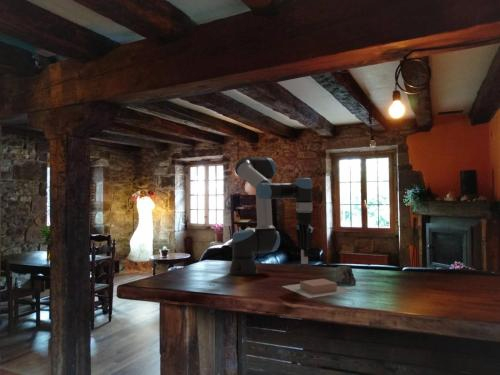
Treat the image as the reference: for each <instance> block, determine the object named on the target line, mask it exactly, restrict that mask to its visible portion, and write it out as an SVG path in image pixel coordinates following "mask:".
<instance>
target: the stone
mask: <svg viewBox="0 0 500 375" xmlns="http://www.w3.org/2000/svg"><path fill="white" fill-rule="evenodd" d="M333 275H334V277H335V279H336V281H337V282H336V283H341V284H346V285H351V286H353V285H354V286H355V285H356V284H357V281H356V278H355V275H354V273H353V268H352V266H349V265H348V266H347V265H339V266H337V267H335V269H334V274H333Z"/></svg>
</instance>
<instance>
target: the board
mask: <svg viewBox="0 0 500 375" xmlns="http://www.w3.org/2000/svg"><path fill="white" fill-rule="evenodd" d="M281 288H285V289H287V290H290V291H291V292H293V293H294V292H295V293H297V294H298V295H301V296H304V297H306V298H308V299H313V298H318V297H325V296H331V295H332V296H333V295H338V294H345V293H351V292H352V293H353V292H354V291H353V290H350V289H348V288H345V287H341V286H338V285H337V290H335V291H328V292H321V293H314V294H313V293H311V292H308V291H306V290H303V289H300V283H298V284H288V285H282V286H281Z"/></svg>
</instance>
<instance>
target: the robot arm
mask: <svg viewBox="0 0 500 375" xmlns="http://www.w3.org/2000/svg"><path fill="white" fill-rule="evenodd" d="M276 166H277V165H276V163H275V161H274V160H273V158H270V157H265V156H262V157H261V156H244V157H242V158H240V159H239V160H238V161H237V162H236V163H235V165H234V172H235V174H236V175H237V177H238V178H239V179H241V180H245V182H247V184H249V185H250V186H251V187H253V188H254V190H255V205H256V206H255V208H256V227H255V228H254V229H242V230H238V231H235V232H233V234H232V239H231V243H232V260H231V264H230V268H229V275H230V276H235V277H247V276H255V275H258V268H257V264H256V262H255V257H254V256H255V254H261V253H272V252H275V251H276V252H277V250H278V248H279V247H280V244H281V235H280V232H279V231H277V230H276V227H275V226H274V225H273V212H272V211H273V209H272V200H288V199H289V200H293V199H295V211H296V213H295V220H296V221H298V222H297V225H295V226H294V230H295V234H296V240H297V241H296V242H297V247H298V248H300V264H301V265H308V264H309V250H310V249H312V245H313V237H314V232H315V230H316V229H315V228H314V227H312V223H311V221H313V217H314V216H313V208H314V207H313V188H314V187H313V180H312V178H309V177H302V178H301V177H300V178H299V177H298V178H296V179H295V182H272V181H273V178H274V177H275V176H276V173H277V167H276Z"/></svg>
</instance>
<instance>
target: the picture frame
mask: <svg viewBox="0 0 500 375" xmlns="http://www.w3.org/2000/svg"><path fill="white" fill-rule="evenodd" d="M337 283H338V282H335V281H332V280H329V279H326V278H315V279H310V280H309V279H308V280H307V279H306V280H301V281H299V284H300V289H303V290H306V291H308V292H311V293H313V294H314V293H321V292H328V291H335V290H337V286H338V284H337Z"/></svg>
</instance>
